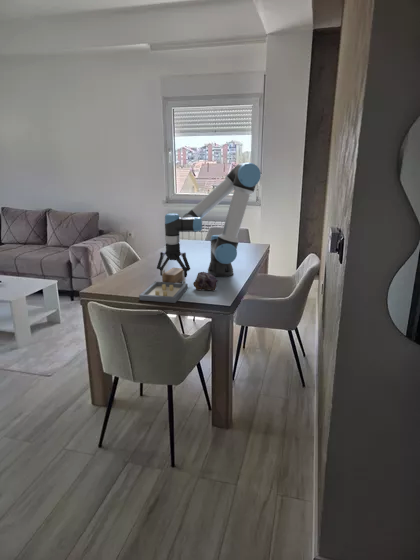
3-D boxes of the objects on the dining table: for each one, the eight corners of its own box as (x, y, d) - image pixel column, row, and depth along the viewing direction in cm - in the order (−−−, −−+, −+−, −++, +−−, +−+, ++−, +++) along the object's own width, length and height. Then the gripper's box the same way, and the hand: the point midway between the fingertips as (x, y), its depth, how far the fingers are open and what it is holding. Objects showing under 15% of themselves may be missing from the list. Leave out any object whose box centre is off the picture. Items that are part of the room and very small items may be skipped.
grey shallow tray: (187, 288, 200) (187, 282, 199) (175, 302, 180) (175, 296, 179) (155, 285, 204) (155, 280, 203) (139, 300, 183) (139, 294, 182)
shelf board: (184, 279, 215) (184, 268, 213) (174, 287, 202) (174, 275, 200) (173, 278, 217) (173, 267, 215) (162, 285, 205) (162, 274, 203)
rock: (212, 295, 193) (218, 288, 202) (215, 279, 190) (220, 273, 199) (191, 289, 196) (198, 283, 205) (193, 274, 193) (200, 268, 202)
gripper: (195, 242, 204) (196, 281, 211) (154, 240, 209) (156, 278, 215) (192, 245, 197) (192, 285, 204) (149, 243, 202) (151, 282, 209)
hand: (173, 281), depth 210 cm, fingers open, 11 cm apart
